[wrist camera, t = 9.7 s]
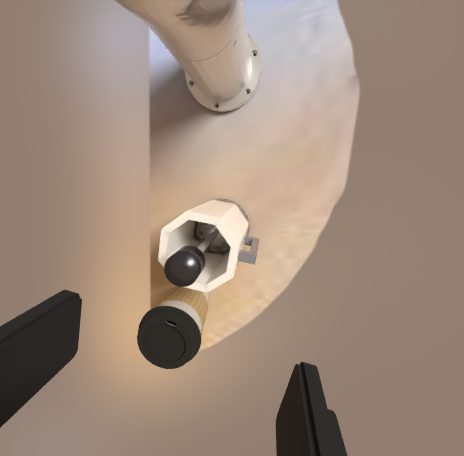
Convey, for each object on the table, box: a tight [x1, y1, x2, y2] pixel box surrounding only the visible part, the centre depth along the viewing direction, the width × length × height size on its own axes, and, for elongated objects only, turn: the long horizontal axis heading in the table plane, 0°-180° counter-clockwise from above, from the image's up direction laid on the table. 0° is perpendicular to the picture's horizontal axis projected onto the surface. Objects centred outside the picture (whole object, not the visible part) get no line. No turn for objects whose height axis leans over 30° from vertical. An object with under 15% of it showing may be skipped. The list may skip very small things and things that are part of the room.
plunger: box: [164, 222, 231, 287], centre depth 34 cm, size 7×7×18 cm
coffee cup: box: [137, 287, 210, 369], centre depth 43 cm, size 10×10×15 cm
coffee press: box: [158, 199, 259, 292], centre depth 39 cm, size 11×13×16 cm
